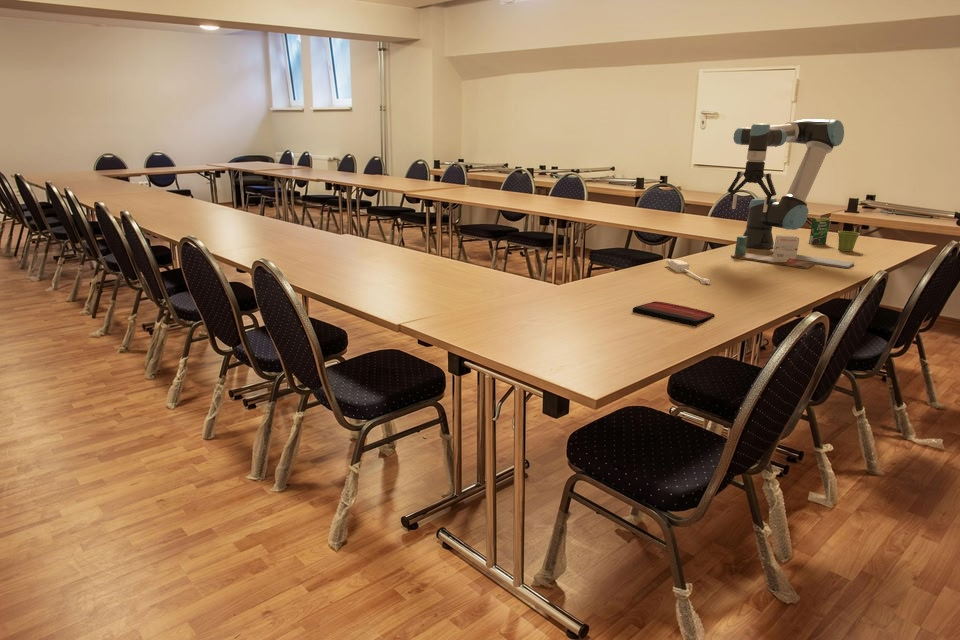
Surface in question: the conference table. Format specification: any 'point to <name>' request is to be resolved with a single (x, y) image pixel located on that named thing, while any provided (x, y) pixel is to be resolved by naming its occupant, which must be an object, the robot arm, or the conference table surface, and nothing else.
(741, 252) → the board with upright blocks
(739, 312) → the conference table surface
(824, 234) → the coffee box
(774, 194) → the robot arm
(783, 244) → the ink box
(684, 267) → the charging cable
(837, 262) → the grey strip
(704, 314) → the binder
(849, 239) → the plant pot
